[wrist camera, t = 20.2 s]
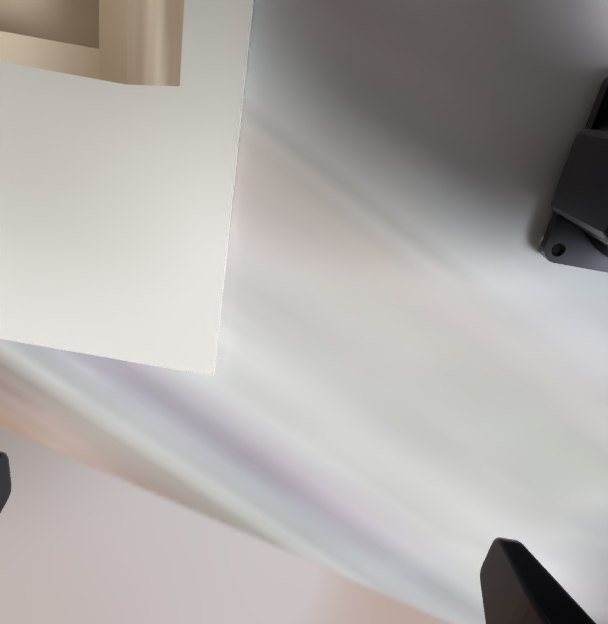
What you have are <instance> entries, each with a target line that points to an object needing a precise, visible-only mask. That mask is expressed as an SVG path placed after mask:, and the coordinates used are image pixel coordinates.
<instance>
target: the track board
mask: <svg viewBox="0 0 608 624" xmlns="http://www.w3.org/2000/svg"><path fill="white" fill-rule="evenodd" d="M253 7H254V0H184V17H183V35H182V53H181V71H180V86H153V85H126V84H121V83H115V82H110V81H104V80H99V79H93V78H88V77H82V76H77V75H71V74H66V73H61V72H55V71H50V70H44V69H39V68H33V67H28V66H22V65H17V64H11V63H6V62H0V339H5V340H10V341H16V342H22V343H27V344H33V345H39V346H44V347H50V348H56V349H61V350H67V351H73V352H78V353H84V354H90V355H95V356H101V357H107V358H112V359H118V360H124V361H130V362H135V363H141V364H147V365H152V366H158V367H164V368H169V369H175V370H181V371H186V372H192V373H198V374H203V375H209V376H214V373H215V365H216V356H217V347H218V337H219V328H220V318H221V309H222V299H223V290H224V281H225V271H226V262H227V252H228V243H229V233H230V224H231V214H232V205H233V196H234V186H235V177H236V167H237V158H238V148H239V139H240V130H241V120H242V111H243V101H244V92H245V82H246V73H247V63H248V54H249V45H250V35H251V26H252V16H253Z"/></svg>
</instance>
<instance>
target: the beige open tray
mask: <svg viewBox="0 0 608 624" xmlns="http://www.w3.org/2000/svg"><path fill="white" fill-rule="evenodd" d="M183 17H184V0H0V62H6V63H11V64H17V65H22V66H28V67H33V68H39V69H44V70H50V71H55V72H61V73H66V74H71V75H77V76H82V77H88V78H93V79H99V80H104V81H110V82H115V83H121V84H126V85H153V86H180V71H181V53H182V35H183Z"/></svg>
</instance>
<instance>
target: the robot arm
mask: <svg viewBox="0 0 608 624" xmlns="http://www.w3.org/2000/svg"><path fill="white" fill-rule="evenodd" d="M551 205H552V208H553V210H554V212H553V215H552V217H551V220H550V223H549V225H548V228H547V230H546V233H545V236H544V238H543V241H542V244H541V248H540V250H541V254H542V255H543V256H544V257H545V258H546V259H547V260H549V261H551V262H553V263H558V264H564V265H570V266H575V267H581V268H586V269H592V270H597V271H603V272H608V78H606V79H605V81H604V83H603V84H602V86H601V89H600V91H599V94H598V97H597V99H596V102H595V105H594V107H593V110H592V112H591V115H590V118H589V120H588V123H587V126H586V128H585V130H583V131H582V132H580V133H579V134H578V135H577V136H576V139H575V141H574V144H573V146H572V149H571V152H570V154H569V157H568V160H567V162H566V165H565V168H564V170H563V173H562V176H561V178H560V181H559V184H558V186H557V189H556V192H555V194H554V197H553V200H552V202H551ZM557 243H561V249H560V250H559V251H558V252H556V253H551V250H552V247H553V246H554V245H556V244H557ZM10 492H11V478H10V468H9V459H8V456H7V454H6V453H4V452H1V451H0V513H1V511H2V509H3V507H4V505H5V504H6V502H7V500H8V498H9V495H10ZM480 582H481V590H482V597H483V605H484V612H485V620H486V624H596V623H595V622H594V621H593V620H592V619H591V618H590V617H589V616H588V614H587V613H586V612H585V611H584V610H583V609H582V608H581V607H580V606H579V605H578V604H577V603H576V601H575V600H574V599H573V598H572V597H571V596H570V595H569V594H568V593H567V592H566V591H565V590H564V588H563V587H562V586H561V585H560V584H559V583H558V582H557V581H556V580H555V579H554V578H553V577H552V575H551V574H550V573H549V572H548V571H547V570H546V569H545V568H544V567H543V566H542V565H541V564H540V562H539V561H538V560H537V559H536V558H535V557H534V556H533V555H532V554H531V553H530V552H529V551H528V549H527V548H526V547H525V546H524V545H523V544H522V543H521V542H519V541H517V540H512V539H506V538H496V539H495V540H494V541H493V543H492V545H491V547H490V549H489V551H488V554H487V556H486V558H485V560H484V562H483V565H482V567H481V572H480Z"/></svg>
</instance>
